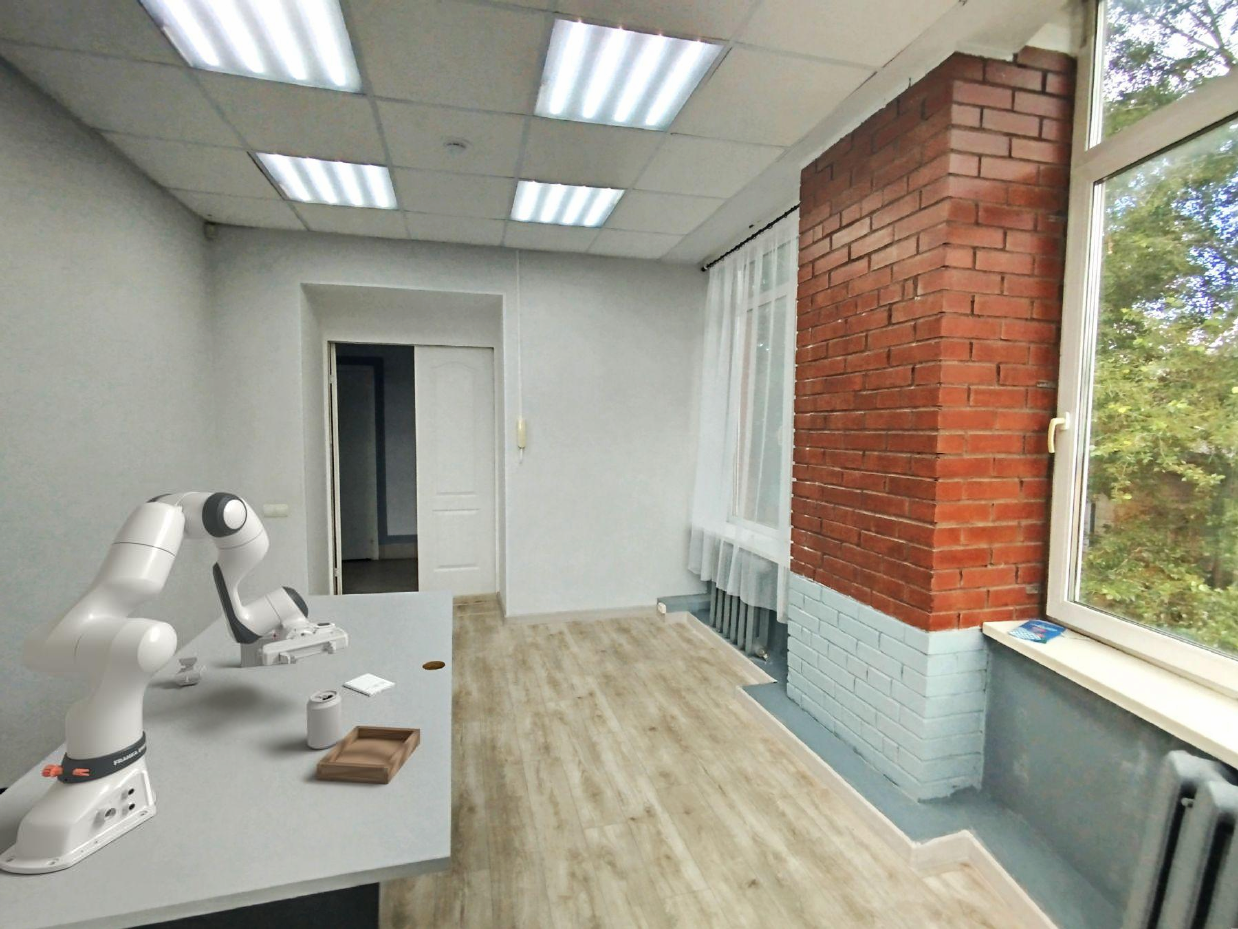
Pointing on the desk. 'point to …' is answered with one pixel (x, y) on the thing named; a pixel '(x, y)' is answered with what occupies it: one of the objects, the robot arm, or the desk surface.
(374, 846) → the desk surface
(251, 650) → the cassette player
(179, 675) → the stamp
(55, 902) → the desk surface
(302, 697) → the desk surface
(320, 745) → the can
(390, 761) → the tray
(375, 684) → the external hard drive
